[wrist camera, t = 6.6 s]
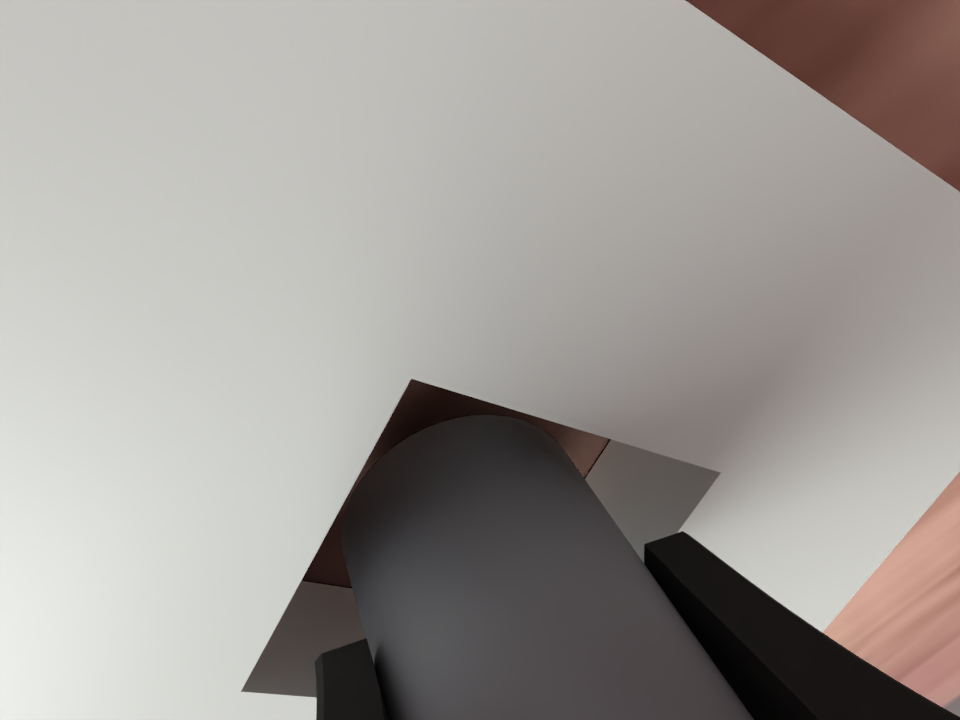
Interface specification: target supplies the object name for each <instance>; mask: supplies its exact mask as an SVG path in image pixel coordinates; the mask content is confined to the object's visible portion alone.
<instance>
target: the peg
mask: <svg viewBox="0 0 960 720" xmlns="http://www.w3.org/2000/svg"><path fill="white" fill-rule="evenodd" d="M341 536H342V549H343V553H344V558H345V562H346V566H347V570H348V573H349V577H350V581H351V585H352V589H353V593H354V596H355V600H356V604H357V608H358V612H359V616H360V619H361V623H362V627H363V631H364V635H365V638H367V641H368V645H369V648H370V652H371V655H372V659H373V662H374V666H375V670H376V674H377V677H378V681H379V685H380V689H381V693H382V697H383V700H384V704H385V708H386V712H387V716H388V719H389V720H754V719H753V717H752V716H751V715H750V713H749V712H748V710H747V709H746V707H745V706H744V705H743V703H742V702H741V700H740V699H739V697H738V696H737V695H736V693H735V692H734V690H733V689H732V688H731V686H730V685H729V683H728V682H727V680H726V679H725V678H724V676H723V675H722V673H721V672H720V671H719V669H718V668H717V666H716V665H715V663H714V662H713V661H712V659H711V658H710V656H709V655H708V653H707V652H706V651H705V649H704V648H703V646H702V645H701V644H700V642H699V641H698V639H697V638H696V636H695V635H694V634H693V632H692V631H691V629H690V628H689V627H688V625H687V624H686V622H685V621H684V619H683V618H682V617H681V615H680V614H679V612H678V611H677V609H676V608H675V607H674V605H673V604H672V602H671V601H670V600H669V598H668V597H667V595H666V594H665V592H664V591H663V590H662V588H661V587H660V585H659V584H658V583H657V581H656V580H655V578H654V577H653V575H652V574H651V573H650V571H649V570H648V568H647V567H646V565H645V564H644V563H643V561H642V560H641V558H640V557H639V556H638V554H637V553H636V551H635V550H634V548H633V547H632V546H631V544H630V543H629V541H628V540H627V539H626V537H625V536H624V534H623V533H622V531H621V530H620V529H619V527H618V526H617V524H616V523H615V521H614V520H613V519H612V517H611V516H610V514H609V513H608V512H607V510H606V509H605V507H604V506H603V504H602V503H601V502H600V500H599V499H598V497H597V496H596V495H595V493H594V492H593V490H592V489H591V487H590V486H589V485H588V483H587V482H586V480H585V479H584V477H583V476H582V475H581V473H580V472H579V470H578V469H577V468H576V466H575V465H574V463H573V462H572V460H571V459H570V458H569V456H568V455H567V453H566V452H565V451H564V449H563V448H562V447H561V446H560V444H559V443H558V442H557V441H556V440H555V439H554V438H553V437H552V436H551V435H549V434H548V433H547V432H546V431H544V430H542V429H541V428H539V427H537V426H535V425H534V424H531V423H528V422H526V421H523V420H520V419H516V418H512V417H508V416H499V415H474V416H466V417H459V418H455V419H452V420H448V421H444V422H441V423H438V424H435V425H433V426H430V427H427V428H425V429H423V430H421V431H419V432H417V433H415V434H413V435H411V436H410V437H408V438H406V439H405V440H403V441H402V442H400V443H398V444H397V445H396V446H394V447H393V448H392V449H391V450H389V451H388V452H387V453H386V454H384V455H383V456H382V457H381V458H380V459H379V460H378V461H377V462H376V463H375V464H374V465H373V466H372V467H371V468H370V469H369V471H368V472H367V473H366V474H365V476H364V477H363V478H362V479H361V481H360V482H359V484H358V486H357V487H356V489H355V491H354V492H353V494H352V496H351V499H350V501H349V503H348V505H347V508H346V512H345V515H344V519H343V525H342V533H341Z"/></svg>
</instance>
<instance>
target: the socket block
mask: <svg viewBox="0 0 960 720" xmlns="http://www.w3.org/2000/svg"><path fill="white" fill-rule="evenodd" d="M411 379H414V380H417V381H420V382H424V383H427V384H430V385H434V386H437V387H440V388H443V389H447V390H450V391H453V392H457V393H460V394H463V395H466V396H470V397H473V398H476V399H480V400H483V401H486V402H489V403H493V404H496V405H499V406H503V407H506V408H509V409H513V410H516V411H519V412H522V413H526V414H529V415H532V416H536V417H539V418H542V419H545V420H549V421H552V422H555V423H559V424H562V425H565V426H569V427H572V428H575V429H578V430H582V431H585V432H588V433H592V434H595V435H598V436H601V437H605V438H608V439H611V440H610V442H609V443H608V445H607V446H606V448H605V449H604V451H603V452H602V454H601V455H600V457H599V458H598V460H597V461H596V463H595V464H594V466H593V468H592V469H591V471H590V472H589V474H588V475H587V477H586V478H585V480H586V482H587V483H588V485H589V486H590V487H591V489H592V490H593V492H594V493H595V495H596V496H597V497H598V499H599V500H600V502H601V503H602V504H603V506H604V507H605V509H606V510H607V512H608V513H609V514H610V516H611V517H612V519H613V520H614V521H615V523H616V524H617V526H618V527H619V529H620V530H621V531H622V533H623V534H624V536H625V537H626V539H627V540H628V541H629V543H630V544H631V546H632V547H633V548H634V550H635V551H636V553H637V554H638V556H639V557H640V558H641V560H642V561H643V563H644V544H646V543H649V542H652V541H655V540H658V539H661V538H664V537H667V536H670V535H673V534H676V533H679V532H682V531H683V532H685V533H687V534H689V535H690V536H691V537H693V538H694V539H695V540H697V541H698V542H699V543H700V544H702V545H703V546H704V547H706V548H707V549H708V550H710V551H711V552H712V553H713V554H715V555H716V556H717V557H719V558H720V559H721V560H723V561H724V562H725V563H727V564H728V565H729V566H730V567H732V568H733V569H734V570H736V571H737V572H738V573H740V574H741V575H742V576H744V577H745V578H746V579H748V580H749V581H750V582H752V583H753V584H755V585H756V586H757V587H759V588H760V589H761V590H763V591H764V592H765V593H767V594H768V595H769V596H771V597H772V598H774V599H775V600H776V601H778V602H779V603H781V604H782V605H783V606H785V607H786V608H787V609H789V610H790V611H792V612H793V613H795V614H796V615H798V616H799V617H800V618H802V619H803V620H805V621H806V622H808V623H809V624H811V625H812V626H813V627H815V628H816V629H818V630H819V631H821V632H823V631H824V630H825V629H826V628H827V626H828V625H829V624H830V623H831V622H832V621H833V619H834V618H835V617H836V616H837V615H838V614H839V612H840V611H841V610H842V609H843V608H844V607H845V605H846V604H847V603H848V602H849V601H850V599H851V598H852V597H853V596H854V595H855V594H856V592H857V591H858V590H859V589H860V588H861V587H862V585H863V584H864V583H865V582H866V581H867V580H868V578H869V577H870V576H871V575H872V574H873V572H874V571H875V570H876V569H877V568H878V567H879V565H880V564H881V563H882V562H883V561H884V560H885V558H886V557H887V556H888V555H889V554H890V553H891V551H892V550H893V549H894V548H895V547H896V545H897V544H898V543H899V542H900V541H901V540H902V538H903V537H904V536H905V535H906V534H907V533H908V531H909V530H910V529H911V528H912V527H913V526H914V524H915V523H916V522H917V521H918V520H919V519H920V517H921V516H922V515H923V514H924V513H925V511H926V510H927V509H928V508H929V507H930V506H931V504H932V503H933V502H934V501H935V500H936V499H937V497H938V496H939V495H940V494H941V493H942V492H943V490H944V489H945V488H946V487H947V486H948V484H949V483H950V482H951V481H952V480H953V479H954V477H955V476H956V475H957V474H958V473H959V472H960V192H959V191H958V190H956V189H955V188H954V187H952V186H951V185H949V184H948V183H946V182H945V181H944V180H942V179H941V178H939V177H938V176H936V175H935V174H934V173H932V172H931V171H929V170H928V169H926V168H925V167H923V166H922V165H921V164H919V163H918V162H916V161H915V160H913V159H912V158H911V157H909V156H908V155H906V154H905V153H903V152H902V151H901V150H899V149H898V148H896V147H895V146H893V145H892V144H891V143H889V142H888V141H886V140H885V139H883V138H882V137H880V136H879V135H878V134H876V133H875V132H873V131H872V130H870V129H869V128H868V127H866V126H865V125H863V124H862V123H860V122H859V121H858V120H856V119H855V118H853V117H852V116H850V115H849V114H848V113H846V112H845V111H843V110H842V109H840V108H839V107H837V106H836V105H835V104H833V103H832V102H830V101H829V100H827V99H826V98H825V97H823V96H822V95H820V94H819V93H817V92H816V91H815V90H813V89H812V88H810V87H809V86H807V85H806V84H805V83H803V82H802V81H800V80H799V79H797V78H796V77H794V76H793V75H792V74H790V73H789V72H787V71H786V70H784V69H783V68H782V67H780V66H779V65H777V64H776V63H774V62H773V61H772V60H770V59H769V58H767V57H766V56H764V55H763V54H762V53H760V52H759V51H757V50H756V49H754V48H753V47H751V46H750V45H749V44H747V43H746V42H744V41H743V40H741V39H740V38H739V37H737V36H736V35H734V34H733V33H731V32H730V31H729V30H727V29H726V28H724V27H723V26H721V25H720V24H719V23H717V22H716V21H714V20H713V19H711V18H710V17H709V16H707V15H706V14H704V13H703V12H701V11H700V10H698V9H697V8H696V7H694V6H693V5H691V4H690V3H688V2H687V1H686V0H0V720H316V713H317V694H316V672H315V661H316V660H317V658H318V657H319V656H320V654H321V653H324V652H327V651H330V650H333V649H336V648H339V647H342V646H345V645H348V644H351V643H354V642H357V641H359V640H362V639H365V635H364V631H363V627H362V623H361V619H360V616H359V612H358V608H357V604H356V600H355V596H354V593H353V589H351V588H345V587H338V586H332V585H325V584H318V583H312V582H305V581H301V580H302V578H303V577H304V575H305V573H306V571H307V569H308V567H309V566H310V564H311V562H312V560H313V558H314V556H315V555H316V553H317V551H318V549H319V547H320V545H321V544H322V542H323V540H324V538H325V536H326V534H327V533H328V531H329V529H330V527H331V525H332V523H333V522H334V520H335V518H336V516H337V514H338V512H339V511H340V509H341V507H342V505H343V503H344V501H345V499H346V498H347V496H348V494H349V492H350V490H351V488H352V487H353V485H354V483H355V481H356V479H357V477H358V476H359V474H360V472H361V470H362V468H363V466H364V465H365V463H366V461H367V459H368V457H369V455H370V454H371V452H372V450H373V448H374V446H375V444H376V443H377V441H378V439H379V437H380V435H381V433H382V432H383V430H384V428H385V426H386V424H387V422H388V421H389V419H390V417H391V415H392V413H393V411H394V409H395V408H396V406H397V404H398V402H399V400H400V398H401V397H402V395H403V393H404V391H405V389H406V387H407V386H408V384H409V382H410V380H411Z"/></svg>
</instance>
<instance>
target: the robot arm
mask: <svg viewBox="0 0 960 720" xmlns="http://www.w3.org/2000/svg"><path fill="white" fill-rule="evenodd" d="M644 564H645V565H646V567H647V568H648V570H649V571H650V573H651V574H652V575H653V577H654V578H655V580H656V581H657V583H658V584H659V585H660V587H661V588H662V590H663V591H664V592H665V594H666V595H667V597H668V598H669V600H670V601H671V602H672V604H673V605H674V607H675V608H676V609H677V611H678V612H679V614H680V615H681V617H682V618H683V619H684V621H685V622H686V624H687V625H688V627H689V628H690V629H691V631H692V632H693V634H694V635H695V636H696V638H697V639H698V641H699V642H700V644H701V645H702V646H703V648H704V649H705V651H706V652H707V653H708V655H709V656H710V658H711V659H712V661H713V662H714V663H715V665H716V666H717V668H718V669H719V671H720V672H721V673H722V675H723V676H724V678H725V679H726V680H727V682H728V683H729V685H730V686H731V688H732V689H733V690H734V692H735V693H736V695H737V696H738V697H739V699H740V700H741V702H742V703H743V705H744V706H745V707H746V709H747V710H748V712H749V713H750V715H751V716H752V717H753V719H754V720H960V717H959V716H957V715H955V714H953V713H951V712H949V711H947V710H946V709H944V708H942V707H940V706H939V705H937V704H935V703H933V702H932V701H930V700H928V699H927V698H925V697H923V696H921V695H920V694H918V693H916V692H915V691H913V690H911V689H910V688H908V687H906V686H905V685H903V684H901V683H900V682H898V681H896V680H895V679H893V678H891V677H890V676H888V675H887V674H885V673H883V672H882V671H880V670H879V669H877V668H876V667H874V666H872V665H871V664H869V663H868V662H866V661H864V660H863V659H861V658H860V657H858V656H857V655H855V654H853V653H852V652H850V651H849V650H847V649H846V648H844V647H843V646H841V645H840V644H838V643H837V642H835V641H834V640H832V639H831V638H829V637H828V636H826V635H825V634H824V633H822V632H821V631H819V630H818V629H816V628H815V627H813V626H812V625H811V624H809V623H808V622H806V621H805V620H803V619H802V618H800V617H799V616H798V615H796V614H795V613H793V612H792V611H790V610H789V609H787V608H786V607H785V606H783V605H782V604H781V603H779V602H778V601H776V600H775V599H774V598H772V597H771V596H769V595H768V594H767V593H765V592H764V591H763V590H761V589H760V588H759V587H757V586H756V585H755V584H753V583H752V582H750V581H749V580H748V579H746V578H745V577H744V576H742V575H741V574H740V573H738V572H737V571H736V570H734V569H733V568H732V567H730V566H729V565H728V564H727V563H725V562H724V561H723V560H721V559H720V558H719V557H717V556H716V555H715V554H713V553H712V552H711V551H710V550H708V549H707V548H706V547H704V546H703V545H702V544H700V543H699V542H698V541H697V540H695V539H694V538H693V537H691V536H690V535H689V534H687V533H685V532H683V531H682V532H679V533H676V534H673V535H670V536H667V537H664V538H661V539H658V540H655V541H652V542H649V543H646V544H644ZM315 672H316V694H317V713H316V720H389V719H388V716H387V712H386V708H385V704H384V700H383V697H382V693H381V689H380V685H379V681H378V677H377V674H376V670H375V666H374V662H373V659H372V655H371V652H370V648H369V645H368V641H367V638H365V639H362V640H359V641H357V642H354V643H351V644H348V645H345V646H342V647H339V648H336V649H333V650H330V651H327V652H324V653H321V654H320V656H319V657H318V658H317V660H316V661H315Z"/></svg>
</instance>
